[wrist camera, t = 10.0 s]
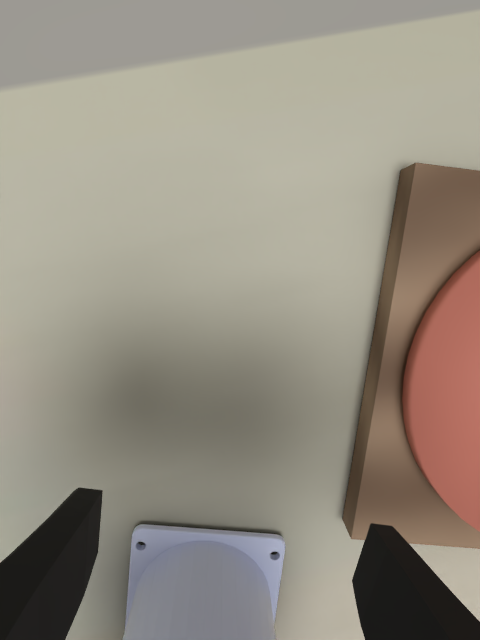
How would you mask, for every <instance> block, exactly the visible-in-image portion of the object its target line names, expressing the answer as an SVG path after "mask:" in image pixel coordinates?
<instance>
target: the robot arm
mask: <svg viewBox="0 0 480 640" xmlns="http://www.w3.org/2000/svg"><path fill="white" fill-rule="evenodd" d="M102 491H103V490H94V489H86V488H78V489H76V490H75V491H74V492H73V493H72V494H71V495H70V496H69V497H68V498H67V499H66V500H65V501H64V502H63V503H62V504H61V505H60V506H59V507H58V508H57V509H56V510H55V511H54V512H53V514H52V515H51V516H50V517H49V518H48V519H47V520H46V521H45V522H43V523H42V524H41V525H40V526H39V527H38V528H37V529H36V530H35V531H34V532H33V533H32V534H31V535H30V536H29V537H28V538H27V539H26V540H25V541H24V542H23V543H22V544H20V545H19V546H18V547H17V548H16V549H15V550H14V551H13V552H12V553H11V554H10V555H9V556H8V557H6V558H5V559H4V560H3V561H2V562H1V563H0V640H65V639H66V636H67V634H68V632H69V629H70V627H71V625H72V622H73V620H74V618H75V615H76V613H77V611H78V608H79V606H80V604H81V601H82V599H83V596H84V594H85V591H86V588H87V585H88V582H89V579H90V575H91V572H92V569H93V566H94V563H95V560H96V556H97V553H98V544H99V531H100V518H101V505H102ZM138 542H144V543H145V545H140V544H139V543H138ZM275 551H276V552H278V553H277V554H275V555H272V554H271V553H272V552H275ZM284 553H285V541H284V539H283V537H282V536H280V535H277V534H267V533H253V532H240V531H227V530H213V529H200V528H187V527H174V526H160V525H147V524H141V525H138V526H136V527H135V529H134V531H133V534H132V541H131V554H130V568H129V581H128V595H127V608H126V622H125V632H124V636H123V640H276V635H275V628H274V623H275V616H276V609H277V602H278V595H279V588H280V581H281V574H282V567H283V560H284ZM352 582H353V588H354V593H355V599H356V604H357V609H358V614H359V619H360V623H361V627H362V630H363V634H364V637H365V640H480V622H479V621H478V620H477V619H476V617H475V616H474V615H473V614H472V613H471V612H470V611H469V610H468V609H467V608H466V607H465V606H464V605H463V604H462V603H461V602H460V600H459V599H458V598H457V597H456V596H455V595H454V594H453V593H452V592H451V591H450V590H449V588H448V587H447V586H446V585H445V584H444V583H443V582H442V581H441V580H440V578H439V577H438V576H437V575H436V574H435V573H434V572H433V571H432V570H431V568H430V567H429V566H428V565H427V564H426V563H425V562H424V560H423V559H422V558H421V557H420V556H419V555H418V554H417V553H416V551H415V550H414V549H413V548H412V547H411V546H410V545H409V543H408V542H407V541H406V540H405V539H404V538H403V537H402V536H401V535H400V533H399V532H398V531H397V530H396V529H395V528H394V527H393V526H390V525H382V524H374V523H370V526H369V530H368V533H367V536H366V539H365V542H364V545H363V548H362V551H361V554H360V558H359V561H358V564H357V567H356V570H355V573H354V576H353V579H352Z"/></svg>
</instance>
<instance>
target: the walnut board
mask: <svg viewBox="0 0 480 640" xmlns="http://www.w3.org/2000/svg"><path fill="white" fill-rule="evenodd" d="M478 251H480V171H477V170H469V169H461V168H453V167H445V166H437V165H429V164H422V163H414V164H412V165H410V166H408V167H406V168H404V169H402V170H401V172H400V178H399V184H398V190H397V196H396V202H395V208H394V214H393V220H392V226H391V232H390V238H389V244H388V250H387V256H386V262H385V268H384V274H383V279H382V285H381V291H380V297H379V303H378V309H377V315H376V321H375V327H374V333H373V339H372V345H371V351H370V357H369V363H368V369H367V375H366V381H365V387H364V393H363V399H362V405H361V411H360V417H359V423H358V429H357V435H356V441H355V447H354V453H353V459H352V465H351V471H350V477H349V483H348V489H347V495H346V501H345V507H344V513H343V521H344V524H345V526H346V528H347V530H348V533H349V535H350V537H351V539H359V540H365V539H366V536H367V533H368V530H369V526H370V523H374V524H382V525H390V526H393V527H394V528H395V529H396V530H397V531H398V532H399V533H400V535H401V536H402V537H403V538H404V539H405V540H406V541H407V542H408V543H412V544H425V545H438V546H452V547H465V548H478V549H480V532H479V531H478V530H476V529H475V528H473V527H472V526H471V525H469V524H468V523H467V522H465V521H464V520H462V519H461V518H460V517H459V516H458V515H457V514H456V513H455V512H454V511H453V510H452V509H451V508H450V507H449V506H448V505H447V504H446V503H445V502H444V500H443V499H442V498H441V497H440V496H439V495H438V494H437V493H436V491H435V490H434V489H433V487H432V486H431V485H430V483H429V482H428V481H427V479H426V478H425V477H424V475H423V473H422V471H421V469H420V468H419V466H418V464H417V462H416V460H415V458H414V455H413V453H412V450H411V447H410V444H409V442H408V438H407V433H406V429H405V424H404V417H403V403H402V395H403V380H404V373H405V368H406V363H407V358H408V354H409V351H410V348H411V345H412V342H413V339H414V336H415V333H416V331H417V329H418V327H419V325H420V323H421V321H422V319H423V317H424V315H425V313H426V311H427V310H428V308H429V306H430V305H431V303H432V302H433V300H434V299H435V297H436V295H437V294H438V292H439V291H440V290H441V289H442V287H443V286H444V285H445V284H446V283H447V281H448V280H449V279H450V278H451V277H452V275H453V274H454V273H455V272H456V271H457V270H458V269H459V268H460V267H461V266H462V265H463V264H465V263H466V262H467V261H468V260H469V259H470V258H471V257H472V256H473V255H474V254H476V253H477V252H478Z"/></svg>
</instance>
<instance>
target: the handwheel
mask: <svg viewBox="0 0 480 640" xmlns="http://www.w3.org/2000/svg"><path fill="white" fill-rule="evenodd" d="M402 403H403V417H404V424H405V429H406V433H407V438H408V442H409V444H410V447H411V450H412V453H413V455H414V458H415V460H416V462H417V464H418V466H419V468H420V469H421V471H422V473H423V475H424V477H425V478H426V479H427V481H428V482H429V483H430V485H431V486H432V487H433V489H434V490H435V491H436V493H437V494H438V495H439V496H440V497H441V498H442V499H443V500H444V502H445V503H446V504H447V505H448V506H449V507H450V508H451V509H452V510H453V511H454V512H455V513H456V514H457V515H458V516H459V517H460V518H461V519H462V520H464V521H465V522H467V523H468V524H469V525H471V526H472V527H473V528H475V529H476V530H478V531H479V532H480V251H478V252H477V253H476V254H474V255H473V256H472V257H471V258H470V259H469V260H468V261H467V262H466V263H465V264H463V265H462V266H461V267H460V268H459V269H458V270H457V271H456V272H455V273H454V274H453V275H452V277H451V278H450V279H449V280H448V281H447V283H446V284H445V285H444V286H443V287H442V289H441V290H440V291H439V292H438V294H437V295H436V297H435V299H434V300H433V302H432V303H431V305H430V306H429V308H428V310H427V311H426V313H425V315H424V317H423V319H422V321H421V323H420V325H419V327H418V329H417V331H416V333H415V336H414V339H413V342H412V345H411V348H410V351H409V354H408V358H407V363H406V368H405V373H404V380H403V395H402Z"/></svg>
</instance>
